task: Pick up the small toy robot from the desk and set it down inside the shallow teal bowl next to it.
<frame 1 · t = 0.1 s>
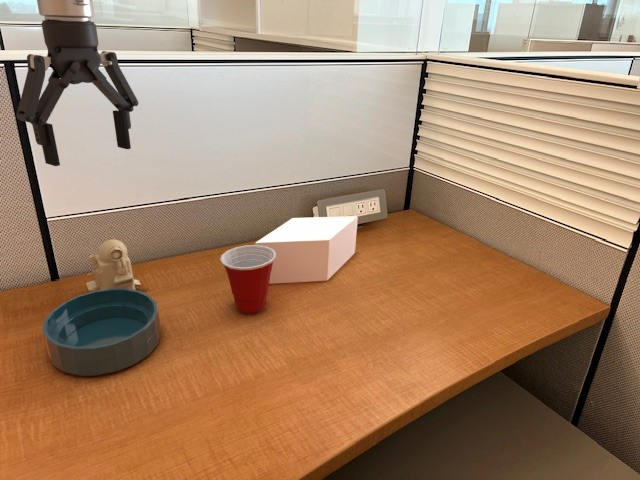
hand: (90, 155, 82), 31 cm above the table, tool pointing down, fingers open, 13 cm apart
shallow teal bowl: (107, 343, 86), on the table
plastic cup: (249, 306, 99), on the table
robot: (116, 293, 101), on the table
white rectangular box: (308, 268, 114), on the table
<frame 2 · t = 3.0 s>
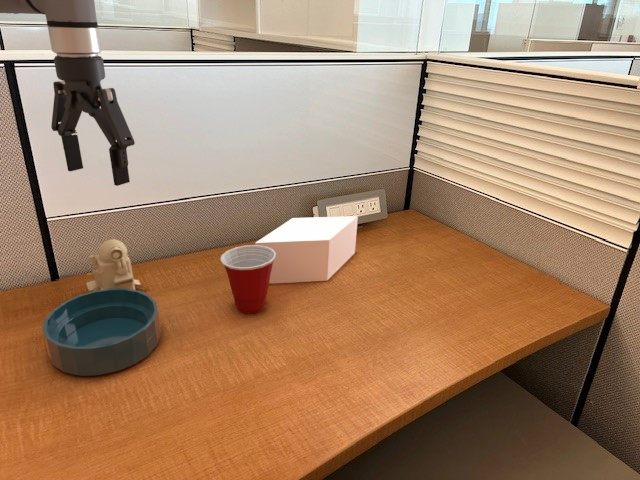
hand: (98, 176, 89), 26 cm above the table, tool pointing down, fingers open, 13 cm apart
nothing on the table moved.
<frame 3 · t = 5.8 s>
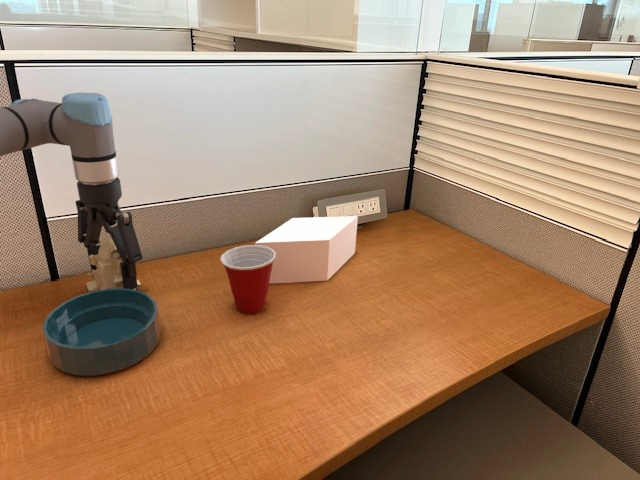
hand: (114, 281, 100), 3 cm above the table, tool pointing down, fingers closed on robot, 9 cm apart
robot: (116, 293, 101), on the table, touching gripper
everything else where it was.
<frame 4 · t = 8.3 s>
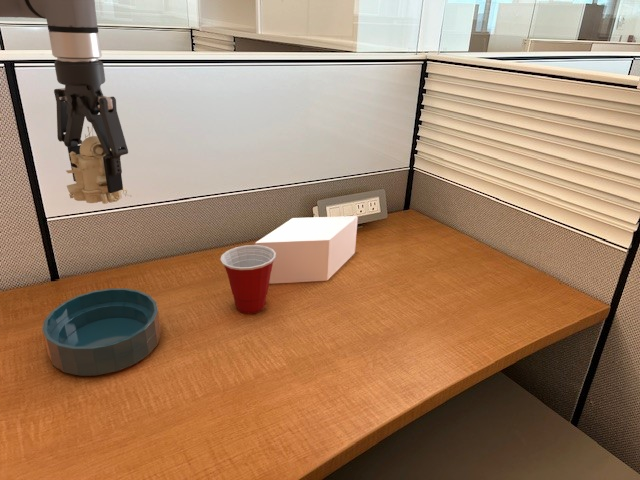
hand: (98, 185, 91), 24 cm above the table, tool pointing down, fingers closed on robot, 9 cm apart
robot: (100, 199, 92), point 21 cm above the table, touching gripper
everything else where it was.
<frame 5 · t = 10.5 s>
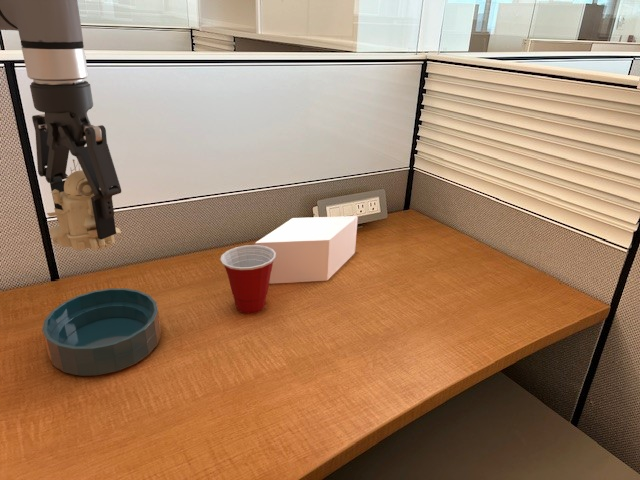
hand: (86, 227, 76), 23 cm above the table, tool pointing down, fingers closed on robot, 9 cm apart
robot: (90, 243, 77), point 20 cm above the table, touching gripper
everything else where it was.
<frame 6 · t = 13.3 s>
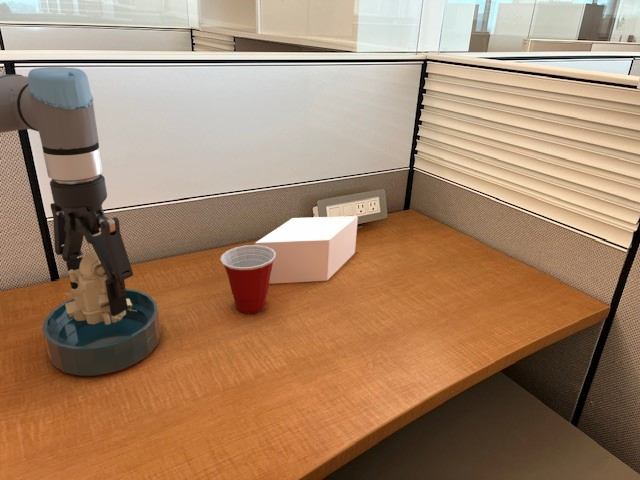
hand: (100, 302, 82), 9 cm above the table, tool pointing down, fingers closed on robot, 9 cm apart
robot: (103, 315, 83), point 6 cm above the table, touching gripper
everything else where it was.
when the fingers open (3 cm above the table, at t = 15.3 s): robot stays where it is, resting on shallow teal bowl.
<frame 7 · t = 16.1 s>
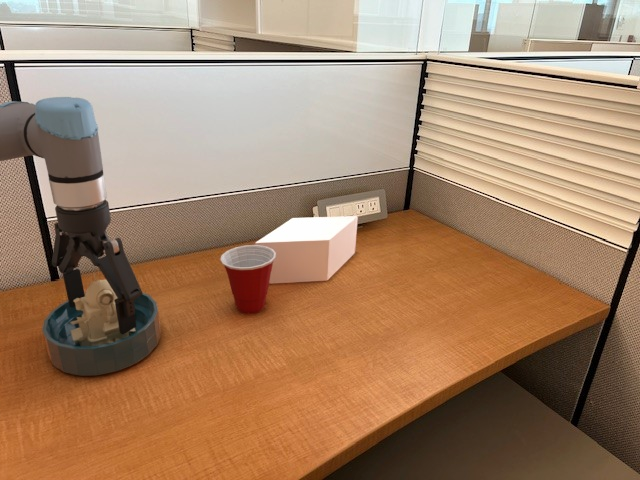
hand: (102, 316, 83), 6 cm above the table, tool pointing down, fingers open, 13 cm apart
robot: (107, 341, 85), resting on shallow teal bowl
everything else where it was.
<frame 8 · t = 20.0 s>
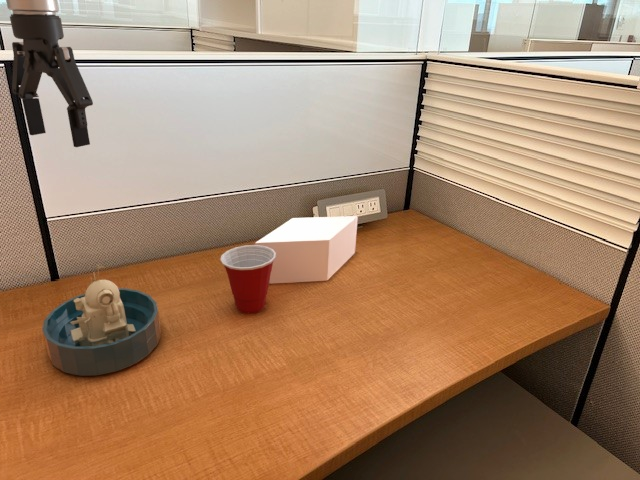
hand: (59, 139, 89), 32 cm above the table, tool pointing down, fingers open, 13 cm apart
nothing on the table moved.
at the end: robot inside the target area in the shallow teal bowl (0.1 cm from its centre), point 0.4 cm above the shallow teal bowl's base; the gripper is holding nothing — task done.
